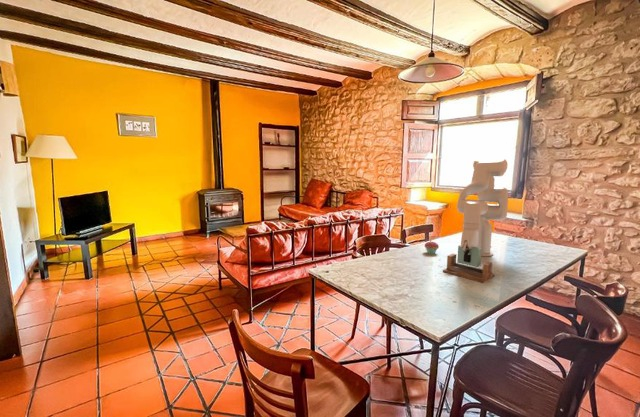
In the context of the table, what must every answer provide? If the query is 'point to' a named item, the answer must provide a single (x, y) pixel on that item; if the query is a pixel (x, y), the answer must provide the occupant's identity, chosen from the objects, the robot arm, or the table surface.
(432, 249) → the cupcake
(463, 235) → the robot arm
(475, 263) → the door panel
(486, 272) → the brown wooden holder
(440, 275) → the table surface
